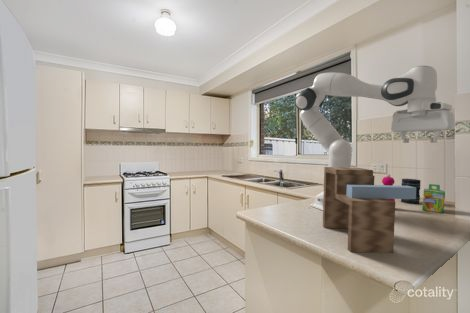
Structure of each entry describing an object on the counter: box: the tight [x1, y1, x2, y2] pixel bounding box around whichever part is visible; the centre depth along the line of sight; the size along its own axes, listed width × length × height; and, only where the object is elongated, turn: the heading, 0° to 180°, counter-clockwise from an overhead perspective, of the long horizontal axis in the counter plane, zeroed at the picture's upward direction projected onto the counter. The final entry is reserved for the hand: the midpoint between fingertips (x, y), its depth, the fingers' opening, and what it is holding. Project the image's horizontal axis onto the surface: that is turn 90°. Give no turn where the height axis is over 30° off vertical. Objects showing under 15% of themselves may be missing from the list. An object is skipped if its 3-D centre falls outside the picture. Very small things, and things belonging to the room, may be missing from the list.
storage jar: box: [400, 178, 421, 205], centre depth 150 cm, size 10×10×15 cm
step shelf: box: [322, 166, 396, 254], centre depth 88 cm, size 14×25×26 cm, turn 179°
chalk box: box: [421, 183, 446, 214], centre depth 131 cm, size 9×9×15 cm
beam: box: [346, 184, 416, 200], centre depth 82 cm, size 22×4×4 cm, turn 89°
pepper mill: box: [381, 173, 396, 202], centre depth 134 cm, size 7×7×20 cm
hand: (419, 142), depth 93 cm, fingers open, 8 cm apart
